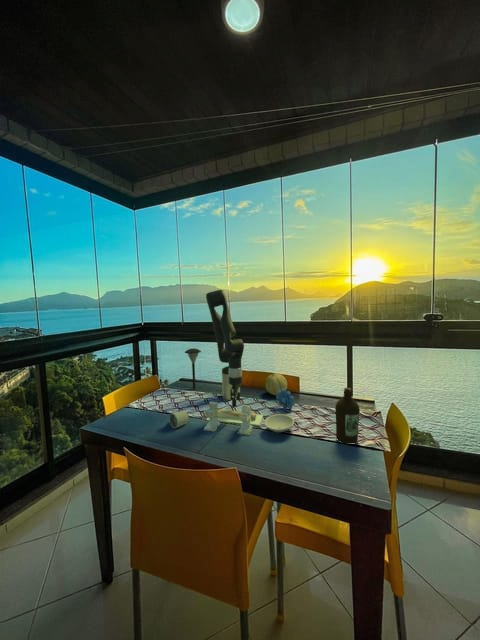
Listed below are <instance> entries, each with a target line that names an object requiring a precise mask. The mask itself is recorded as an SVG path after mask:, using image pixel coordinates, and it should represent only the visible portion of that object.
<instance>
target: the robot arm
mask: <svg viewBox="0 0 480 640" xmlns="http://www.w3.org/2000/svg"><path fill="white" fill-rule="evenodd" d="M205 299H206V303H207V306H208V309H209V313H210V316H211V322H212V327H213V332H214V333H213V334H214V337H215V340H216V345H217V352H218V358H219V361H220V362H221V363H225V364H226V363H227V364H228V365H227V366H224V367H223V368H222V369H221V381H222V382H221V383H222V384H221V385H222V386H221V387H222V399H223V400H226V401H231V405H232V407H235V408H236V407H237V401H240V400H241V391H242V388H241V387H242V384H243V369H242V357H243V353H244V349H245V344H244V341H243V340H242V338H236V339H232V338H233V337H235V336H236V334H237V332H236V328H235V326H234V324H233V320H232V317H231V313H230V308H229V305H228V300H227V296H226V294H225V292H224V290H223V289H217V290H214V291H210V292H207V293H206V295H205ZM220 306H222V315H220V314H219V312H217V311H216V307H217V308H218V307H220Z"/></svg>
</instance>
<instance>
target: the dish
mask: <svg viewBox="0 0 480 640" xmlns="http://www.w3.org/2000/svg"><path fill="white" fill-rule="evenodd" d="M263 423H264V425H265V427H266V428H268V429H269V430H270V432H274V433H284V432H286V431H288V430H289V429H291V428H292V427H293V426H294V424H295V419H294V418H293V417H292V416H290V415H287V414H282V413H281V414H280V413H278V414H272V415H270V416H268V417H267V418H266V419H264V422H263Z"/></svg>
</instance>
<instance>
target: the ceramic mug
mask: <svg viewBox="0 0 480 640" xmlns="http://www.w3.org/2000/svg"><path fill="white" fill-rule="evenodd" d="M168 417H169V418H168V420H169V424H170V426H171V428H172V429H177V428H180V427H182V426H185V425H186V424H188V422H189V419H190V418H189V414H188V413H187V411H186V410H179V411H177V412H173V413H170V415H169V416H168Z"/></svg>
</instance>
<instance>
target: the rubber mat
mask: <svg viewBox="0 0 480 640" xmlns="http://www.w3.org/2000/svg"><path fill="white" fill-rule="evenodd" d="M263 417H264V415H263V414H257V413H256V420H251V426H256V425H257V426H260V425H261V423H262V420H263ZM205 420H206V421H208V422H209V421H210V418H206V419H205ZM218 422H220V423H227V424H237V425H242V421H240V419H236V418H225V417H218Z"/></svg>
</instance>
